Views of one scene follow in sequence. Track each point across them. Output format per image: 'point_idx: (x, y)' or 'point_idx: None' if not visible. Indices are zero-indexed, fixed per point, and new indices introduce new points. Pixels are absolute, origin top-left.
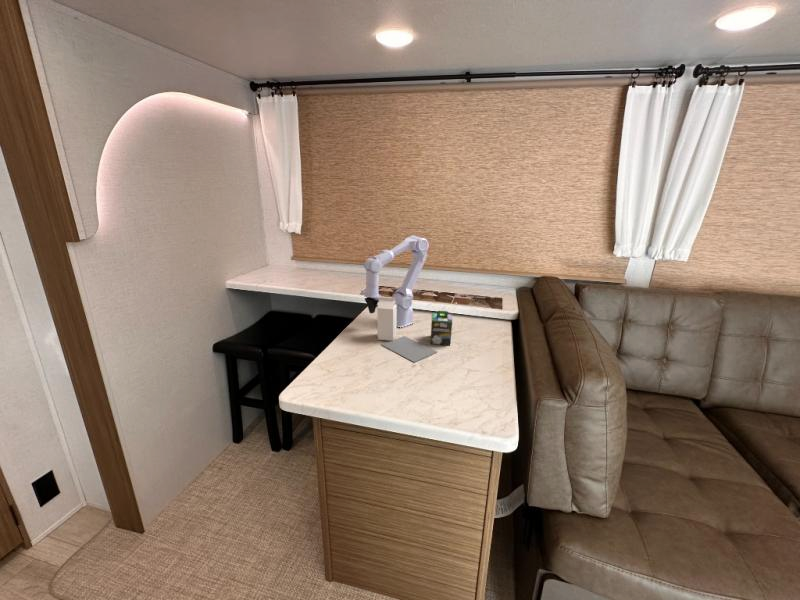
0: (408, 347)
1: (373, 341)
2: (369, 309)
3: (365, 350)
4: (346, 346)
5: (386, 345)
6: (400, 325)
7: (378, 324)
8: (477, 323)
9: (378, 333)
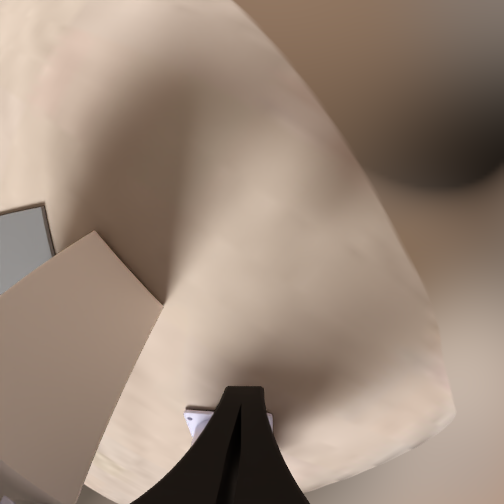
0: (2, 290)
1: (95, 194)
2: (242, 418)
3: (40, 96)
4: (133, 12)
5: (26, 223)
6: (200, 423)
7: (23, 278)
8: (131, 496)
9: (68, 247)
